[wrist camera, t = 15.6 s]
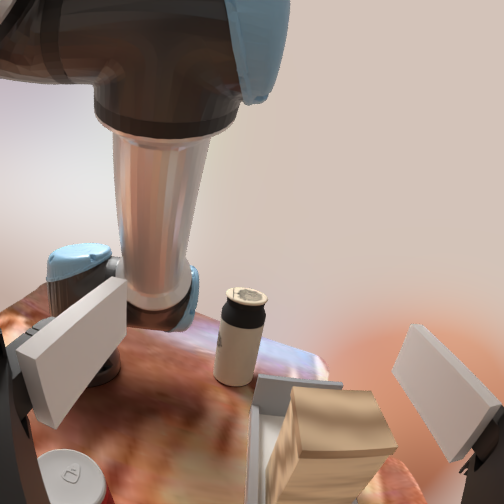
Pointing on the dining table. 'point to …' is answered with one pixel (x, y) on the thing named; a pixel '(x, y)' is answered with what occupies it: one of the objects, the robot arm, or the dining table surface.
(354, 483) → the wooden block
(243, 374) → the travel mug
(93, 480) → the canned food
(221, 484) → the dining table surface
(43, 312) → the dining table surface
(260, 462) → the bay
